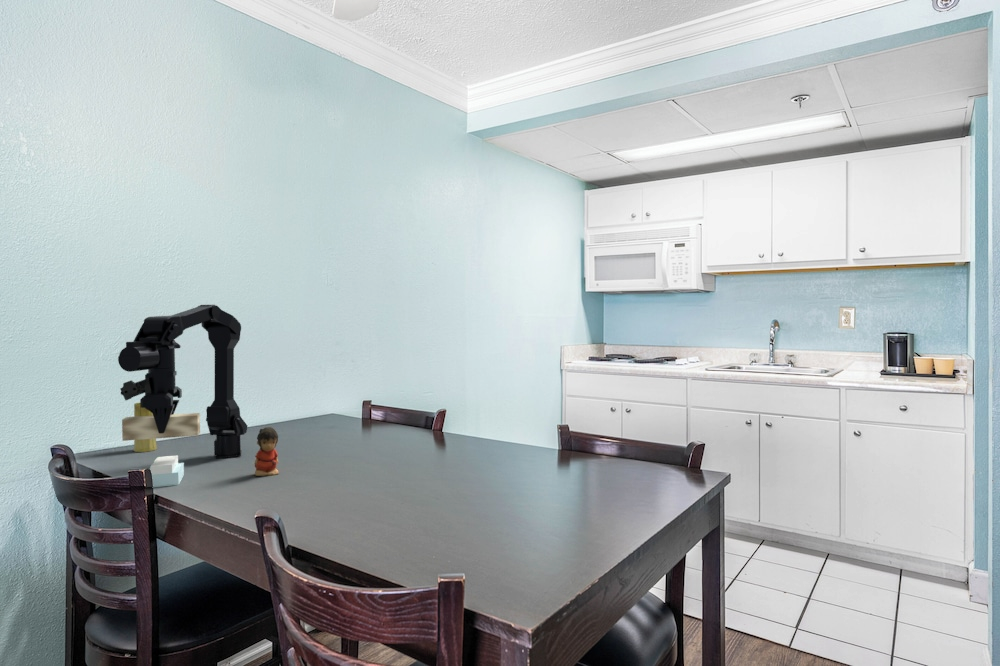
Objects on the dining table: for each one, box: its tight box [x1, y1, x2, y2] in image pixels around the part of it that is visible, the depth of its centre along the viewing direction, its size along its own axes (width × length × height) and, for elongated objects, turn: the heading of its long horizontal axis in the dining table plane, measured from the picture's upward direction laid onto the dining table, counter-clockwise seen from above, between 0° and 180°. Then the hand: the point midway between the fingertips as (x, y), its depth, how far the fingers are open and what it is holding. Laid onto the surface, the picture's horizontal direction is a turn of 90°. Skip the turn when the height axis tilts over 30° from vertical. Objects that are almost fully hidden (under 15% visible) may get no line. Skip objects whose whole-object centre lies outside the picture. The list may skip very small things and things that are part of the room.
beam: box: [121, 412, 201, 442], centre depth 144 cm, size 16×4×5 cm, turn 110°
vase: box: [133, 402, 158, 453], centre depth 178 cm, size 6×6×14 cm
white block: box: [149, 455, 185, 488], centre depth 144 cm, size 7×10×5 cm
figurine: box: [254, 426, 280, 477], centre depth 150 cm, size 6×6×12 cm
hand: (163, 431), depth 144 cm, fingers closed on beam, 4 cm apart
